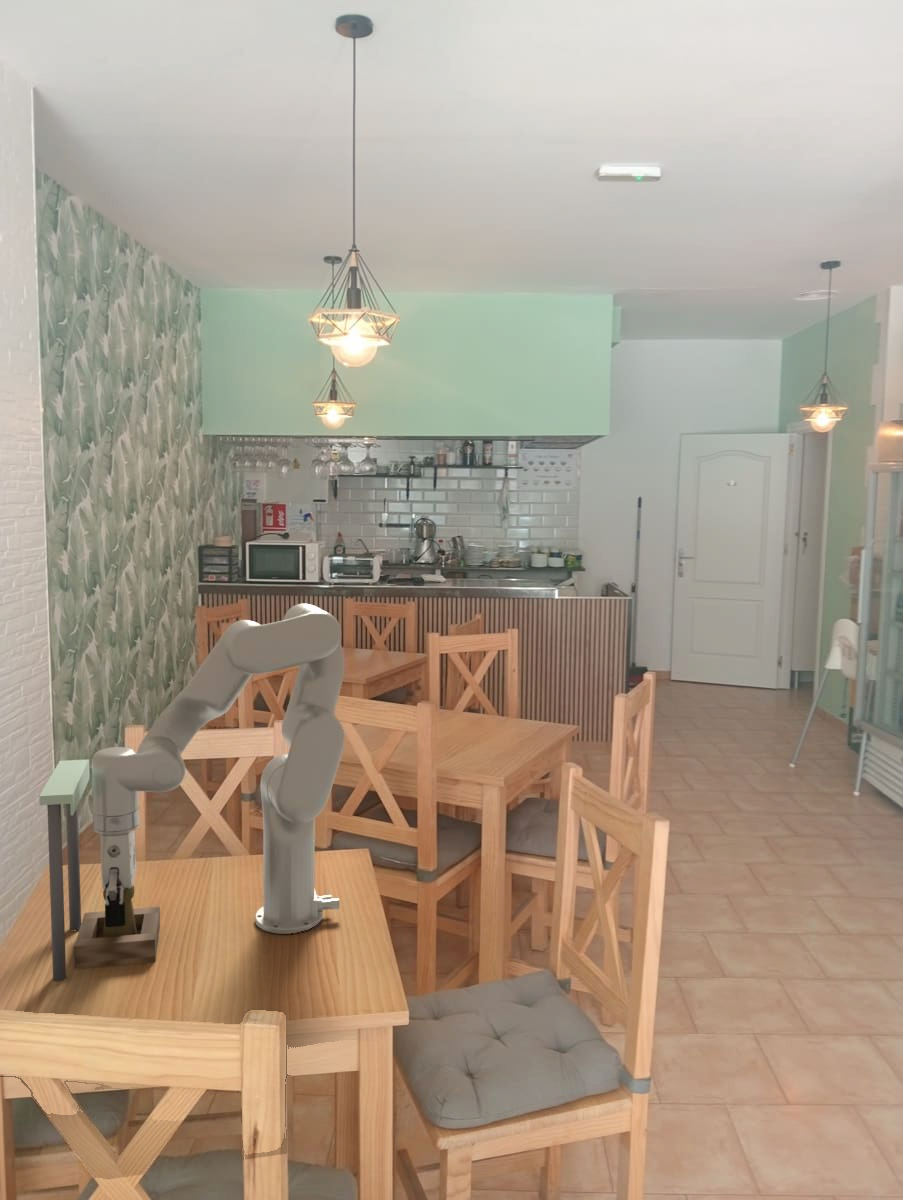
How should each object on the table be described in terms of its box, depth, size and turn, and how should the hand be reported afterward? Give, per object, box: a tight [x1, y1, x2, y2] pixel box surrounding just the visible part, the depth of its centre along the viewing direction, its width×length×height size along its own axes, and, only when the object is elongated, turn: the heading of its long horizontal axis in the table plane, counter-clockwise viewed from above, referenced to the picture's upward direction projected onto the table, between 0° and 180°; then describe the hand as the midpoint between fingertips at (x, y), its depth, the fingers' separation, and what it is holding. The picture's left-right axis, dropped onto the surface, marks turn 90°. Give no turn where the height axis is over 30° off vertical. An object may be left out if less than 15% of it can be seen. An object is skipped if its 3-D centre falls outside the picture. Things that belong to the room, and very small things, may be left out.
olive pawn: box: [102, 884, 137, 937], centre depth 167 cm, size 6×6×11 cm
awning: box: [39, 759, 91, 982], centre depth 164 cm, size 5×20×32 cm, turn 14°
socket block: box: [73, 906, 161, 970], centre depth 167 cm, size 13×13×4 cm
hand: (118, 913), depth 167 cm, fingers open, 9 cm apart
